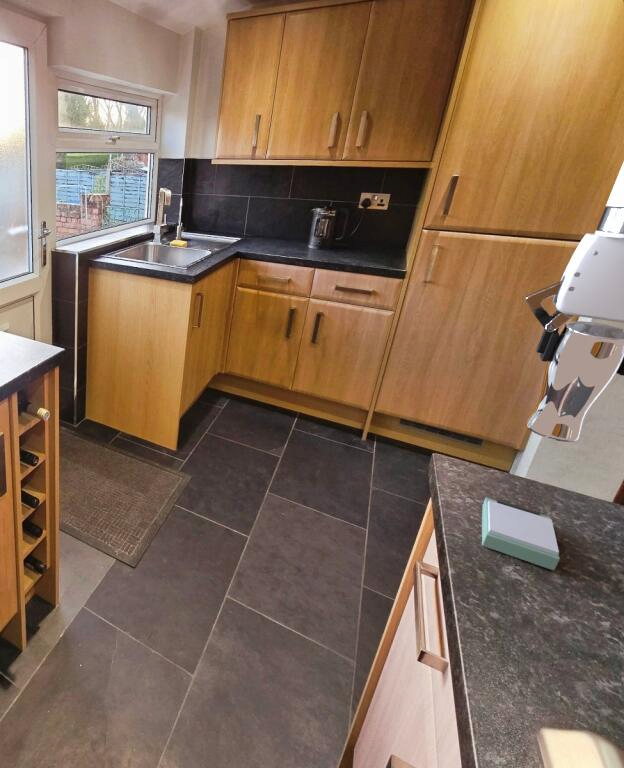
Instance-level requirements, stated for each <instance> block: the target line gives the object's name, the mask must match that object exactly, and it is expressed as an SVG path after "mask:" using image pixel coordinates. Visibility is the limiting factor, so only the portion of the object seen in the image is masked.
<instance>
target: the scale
mask: <svg viewBox="0 0 624 768" xmlns="http://www.w3.org/2000/svg"><path fill="white" fill-rule="evenodd" d="M481 510H482V513H481V545H482V547H484V548H488V549H489V550H490V549H491V550H494V551H496V552H499V553H501V554H505V555H507V556H509V557H510V556H511V557H514V558H517V559H519V560H521V561H522V560H523V561H524V562H528V563H531V564H533V565H535V566H539V567H542V568H545V569H548V570H550V571H555V570H556V569H557V566H558V564H559V562H560V559H561V558H560V549H559V546H558V542H557V537H556V532H555V528H554V523H553V519H552V518H551V516H548V515H544V514H542V513H541V512H540V511H536V510H532V509H529V508H525V507H523V506H519V505H516V504H513V503H509V502H507V501H503V500H500V499H497V500H496V499H492V498H489V497H485V499H484V501H483V504H482V509H481Z"/></svg>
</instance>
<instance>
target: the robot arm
mask: <svg viewBox="0 0 624 768" xmlns="http://www.w3.org/2000/svg"><path fill="white" fill-rule="evenodd" d="M551 297H553V299H552V304H553V305H554V306H555V308H556V311H554V312H553V313H552V314H551V315H550V314H549V313H548V311H547V310H546V308H545V306H543V304H542V302H543V301H545V300H547V299H549V298H551ZM524 300H525V302H526V303H527V305H528V307H529V308H530V311H531V312H532V313H533V315H534V316H535V318H536V320H537V321H538V322H539V323H540V325H541V326H542V327H543V328H544V329H543V332H542V335H541V336H540V339H539V342H538V344H537V347H536V350H535V351H536V353H537V354H539V357H540V360H541V362H546V363H547V361H549V360H550V357H551V355H552V352H553V350H554V348H555V345H556V343H557V340H558V338H559V335H560V333H559V330H560V328H561V327H562V326H563V325H565V324H566V323H567V322H569V320H571V319H572V317H579V318H580V317H581V318H588V319H594V320H600V321H601V320H602V321H610V322H617V323H622V324H623V323H624V161H623V162H622V165H621V167H620V169H619V172H618V174H617V177H616V180H615V182H614V184H613V187H612V189H611V192H610V194H609V197H608V199H607V202H606V204H605V207H604V209H603V212H602V214H601V217H600V219H599V222H598V225H597V227H596V230H595V232H594V233H592V232H591V233H589V232H588V233H585V234H584V236H583V237H582V238H581V240H580V242H579V243H578V245H577V247H576V249H575V250H574V252H573V254H572V255H571V258H570V260H569V262H568V263H567V265H566V268H565V270H564V271H563V274H562V277H561V278H560V281H557V282H555V283H553V284H549V285H548V286H546V287H543V288H541V289H539V290H537V291H534V292H532V293H530V294H527V295H526V296H525V299H524ZM617 375H619V376H623V377H624V362H623V364H622V366H621V369H620V370H619V372H618V374H617Z"/></svg>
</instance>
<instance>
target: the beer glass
mask: <svg viewBox="0 0 624 768" xmlns="http://www.w3.org/2000/svg"><path fill="white" fill-rule="evenodd" d="M623 362H624V329H623V328H622V327H621V328H620V327H618V326H614V325H610V324H605V323H600V322H593V321H583V320H581V321H580V320H575V321H567V322H565V323H564V326H563V328H562V330H561V332H560V333H559V338H558V340H557V343H556V345H555V348H554V350H553V352H552V355H551V357H550V360H549V361H547V362H546V365H545V369H544V373H543V374H544V375H543V378H542V384H541V390H540V394H539V398H538V402H537V403H536V405H535V407H534V409H533V411H532V412H531V413H530V414H529V416H528V417H527V418H526V419H525V422H524V425H525V426H526V428H527V429H528V430H529V431H531V432H532V433H534V434H536V435H538V436H541V437H543V438H545V439H549V440H553V441H557V442H563V443H573V442H577V441H579V440H580V439H582V435H583V431H584V426H585V425H584V424H585V422H586V419H587V417H588V415H589V414H590V411H591V409H592V408H594V406H595V404H597V402H598V401H599V400H600V399H601V398H602V396H603V395H604V394H605V392H606V391H607V390H608V389H609V387H610V386H611V385H612V383H613V382H614V380H615V379H616V377H617V376H618V375H619V374H618V372H619V370H620V369H621V366H622V364H623Z"/></svg>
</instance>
